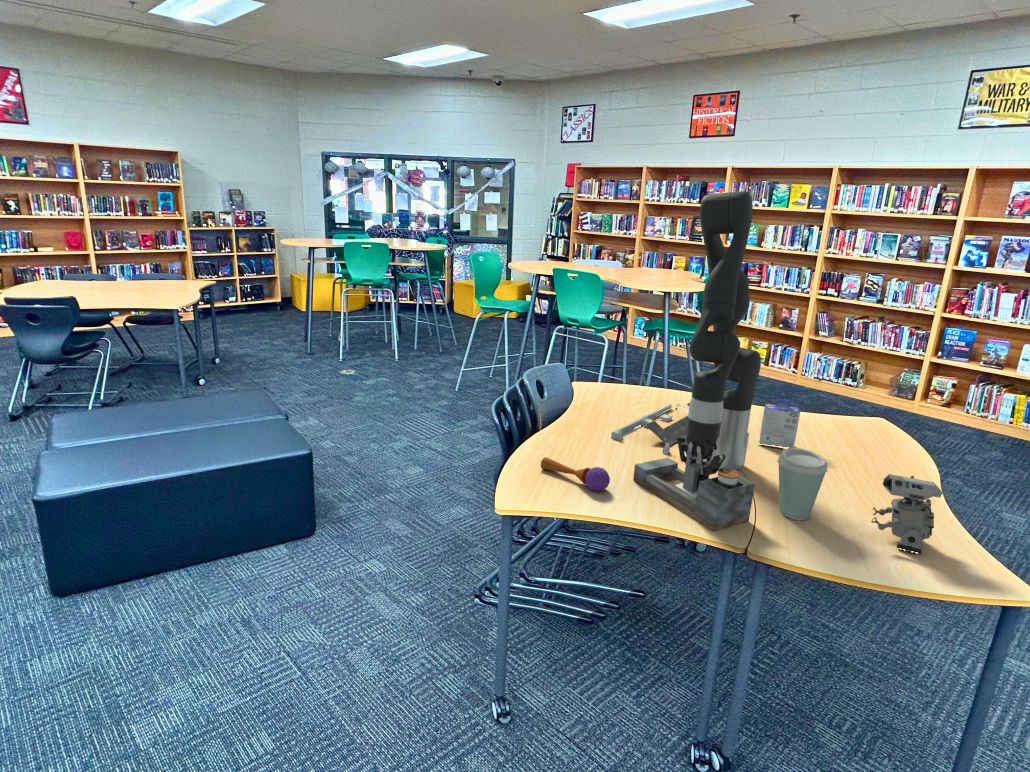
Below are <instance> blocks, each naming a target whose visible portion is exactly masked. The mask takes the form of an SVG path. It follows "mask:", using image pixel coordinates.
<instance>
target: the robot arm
mask: <svg viewBox="0 0 1030 772" xmlns="http://www.w3.org/2000/svg"><path fill="white" fill-rule="evenodd" d="M753 210H754V208H753V199H752V196H751V194H750V193H749V192H748V191H745V190H744V191H740V190H739V191H728V192H717V193H711V194H705V196H703V197H702V199H701V202H700V206H699V218H700V220H699V221H700V226H701V228H700V229H701V233H702V237H703V244H704V251H705V255H706V263H707V271H708V272H707V273H708V277H707V279H706V282H705V285H704V289H703V290H704V291H703V297H702V298H703V299H702V306H701V312H700V318H699V320H698V321H699V322H698V324H697V326H696V329H695V332H694V334H693V335H692V337H691V340H690V342H689V347H688V348H689V354H690V356H691V358H692V359H693V360H694V361H696V362H702V363H711V364H713V366H714V369H709V370H702V371H701V370H700V371H698V372H696V373H695V375H694V376H693V382H692V383H693V384H692V391H691V398H690V402H689V403H690V405H689V406H688V407H689V412H688V413H687V416H688V419H687V427H686V433H687V436H685V437H679V438H677V442H676V443H677V447H678V452H679V453H678V454H679V457H680V459H679V460H680V461H681V462H682V463H684V464H685V466H686V465H687V464H692V463H697V462H698V464H699V473H700V474H699V475H698V482H697V488H699V481H702V480H706V479H708V475H709V476H712V475H715V474H718V471H719V469H721V468H730V469H734V470H736V471H738V470H737V469H739V470H740V469H741V468H742V467H743V466H745V462H746V457H747V451H748V444H749V437H750V433H749V432H748V429H749V423H750V417H751V410H752V405H753V401H754V398H755V394H756V389H757V384H758V380H759V377H760V371H761V366H762V358H761V357H762V356H761V354H760V353H759V351H757V350H754V349H750V348H746V347H741V341H740V339H739V337H738V336H737V335H736V334H735V333H734V331H735V330H736V328H737V327H738V325H739V324H740V322H741V321H742V320H743V318H744V317H745V315H747V312H748V310H749V309H750V308H749V307H750V304H751V303H750V302H751V299H750V284H749V279H748V277H747V275H746V273H745V272H744V270H743V269H742V265H743V261H744V257H745V253H746V249H747V244H748V240H749V236H750V231H751V226H752V222H753V214H754V213H753ZM731 234H732V238H731V242H730V244H729V246H728V248H727V249H726V247H725V245H724V242H723V240H722V238H721V235H731ZM712 326H713V330H709V328H710V327H712ZM727 381H731V382H734V383H737V385H736V386H737V387H736V389H733V390H732V389H731V390H726V385H727ZM742 465H743V466H742ZM704 466H705V469H704Z"/></svg>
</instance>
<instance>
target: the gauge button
mask: <svg viewBox="0 0 1030 772" xmlns="http://www.w3.org/2000/svg"><path fill="white" fill-rule="evenodd" d="M739 475H740V473H739V471H738V470H734V469H730V468H721V469H718V471H717V477H718V478H717V484H719V485H721V486H723V487H725V488H727V489H730V488H734V487H737V485H738V479H739Z"/></svg>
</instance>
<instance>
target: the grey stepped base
mask: <svg viewBox="0 0 1030 772" xmlns="http://www.w3.org/2000/svg"><path fill="white" fill-rule="evenodd" d="M684 474H685V470H682V469H680V468H679V463H678V462H676V461H675V460H673V459H672V458H669V457H663V458H659V459H655V460H649V461H644V462H640V463H635V464H634V471H633V478H632V481H633V482H636V483H637V484H638V485H640V486H642V487H643V488H644V489H646V490H648V491H649V492H650V493H653V494H654V495H656V496H657V497H659V498H661V500H664V501H665V502H667V503H668V504H670V505H671V506H673V507H674V508H675V509H677V510H679V511H681V513H682V512H683V513H684V514H686V515H687V516H689V517H691V518H692V519H693V520H695V521H696V522H699V524H701V525H703V526H704V525H705V527H706V528H707V529H709V528H710V529H709V530H711V531H712V530H713V531H712V532H716V531H715V530H717V531H719V530H724V529H726V527H727V528H730V527H733V525H734V526H737V525H739V524H740V523H741V524H744V523H747V521H748V522H749V521H750V516H751V510H752V503H753V498H754V492H755V486H756V483H755V482H753V481H751V480H749V479H747V478H745V477H743V475H742V476H741V475H740V474H739V479H738V485H737V487H734V488H730V489H727V488H725V487H723V486H721V485H719V484H717V478H718V476H715V477H711V478H709V479H706V480H702V481H699V488H698V495H697V501H696V500H694V499H693V498H691V497H689V496H688V495H686V494H684V493H683V492H681V491H679V490H678V489H676V488H674V487H675V485H677V484H681V483H683V482H684ZM723 528H724V529H723Z"/></svg>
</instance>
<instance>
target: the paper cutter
mask: <svg viewBox="0 0 1030 772" xmlns="http://www.w3.org/2000/svg"><path fill="white" fill-rule="evenodd" d="M686 405H687V406H685V405H682V404H680V403H676V404H675V405H674V406H676V407H678V406H681V407H683V408H687V409H689V405H690V402H688V403H686ZM672 406H673V404H671V403H668V404H667V405H665V406H663V407H661V408H658V409H657V410H654V411H652V412H650V413H647V414H646V415H644V416H642V417H639V418H637V419H635V420H633V421H631V422H629V423H627V424H625V425H623V426H621V427H619V428H616V429H615V430H613V431H611V433H610V438H611V439H614V440H616V441H622V438H623V437H625V436H626V435H628V434H631V433H633V432H635V431H636V430H638V429H637V428H635V427H637V426H639V425H643V426H644V427H643V426H642V427H643V428H646V427H647V428H646V429H649V430H650V431H651V432H652V433H653V434H654V435H656V437H658V439H660V440H661V441H662V442H663V443H664V447H663V448H662V454H665V455H667V454H669V453H670V450H671V447H670V446H672V445H673V444H675V443H678V442H677V438H679V437H685V436H687V433H686V427H687V419H688V415H686V416H684V417H682V418H680V419H679V420H677V421H675V422H673V423H672V424H670V425H668V426H666V427H664V428H663V426H662V427H661V425H660V424H659V423H658V422H657V420H654V419H655V418H657V417H658V416H657V415H659V414H661V413H663V412H664V411H666V410H668V409H670V408H671V409H672V408H673V407H672ZM656 416H657V417H656ZM654 417H655V418H654ZM652 418H653V419H652ZM671 418H672V419H673V415H670V414H668V413H667V414H666V413H663V414H661V415H659V419H662V420H665V421H668V420H669V419H671ZM650 419H651V420H650ZM672 419H671V420H672ZM662 420H661V421H662ZM665 421H664V422H665ZM668 422H669V421H668ZM634 428H635V429H634Z"/></svg>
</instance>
